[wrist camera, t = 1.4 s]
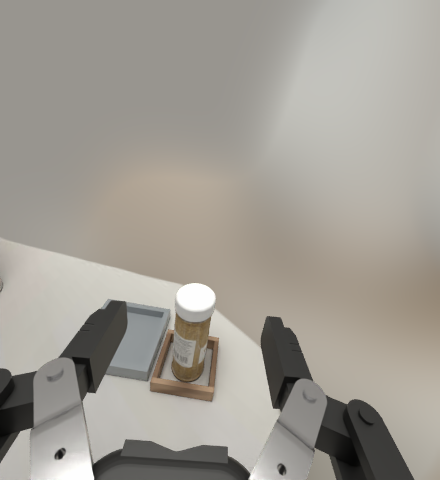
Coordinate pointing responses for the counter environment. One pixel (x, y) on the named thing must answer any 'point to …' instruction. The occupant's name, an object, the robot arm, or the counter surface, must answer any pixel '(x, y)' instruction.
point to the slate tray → (139, 341)
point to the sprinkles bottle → (191, 330)
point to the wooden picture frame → (182, 387)
